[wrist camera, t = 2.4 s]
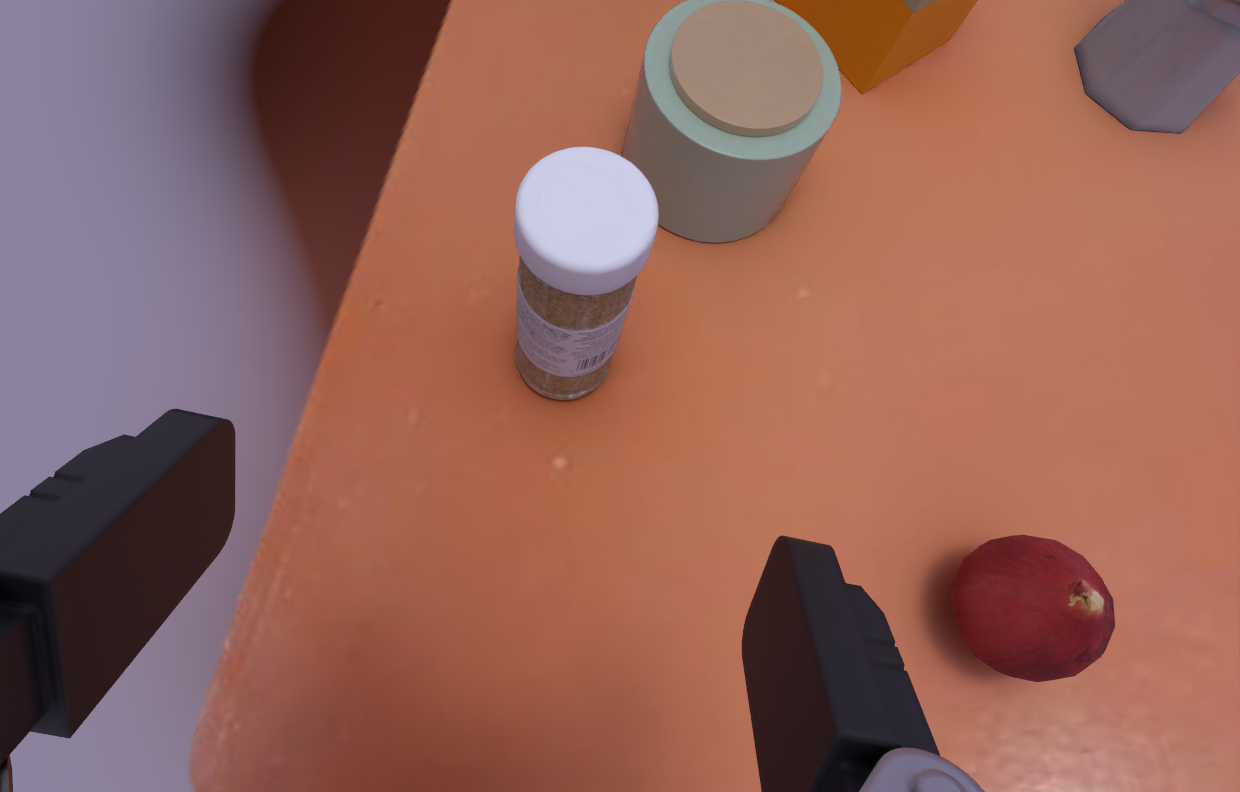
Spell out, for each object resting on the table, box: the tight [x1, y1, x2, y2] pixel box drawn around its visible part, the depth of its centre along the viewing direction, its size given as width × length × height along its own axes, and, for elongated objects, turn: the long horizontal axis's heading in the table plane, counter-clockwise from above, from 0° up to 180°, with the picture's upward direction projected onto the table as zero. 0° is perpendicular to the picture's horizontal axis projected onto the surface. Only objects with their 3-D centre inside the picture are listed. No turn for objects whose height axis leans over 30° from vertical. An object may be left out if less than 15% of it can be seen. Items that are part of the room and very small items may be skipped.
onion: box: [951, 535, 1115, 682], centre depth 32 cm, size 6×6×8 cm
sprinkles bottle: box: [514, 147, 659, 400], centre depth 30 cm, size 5×5×13 cm
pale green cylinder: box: [622, 0, 842, 243], centre depth 37 cm, size 9×9×8 cm
